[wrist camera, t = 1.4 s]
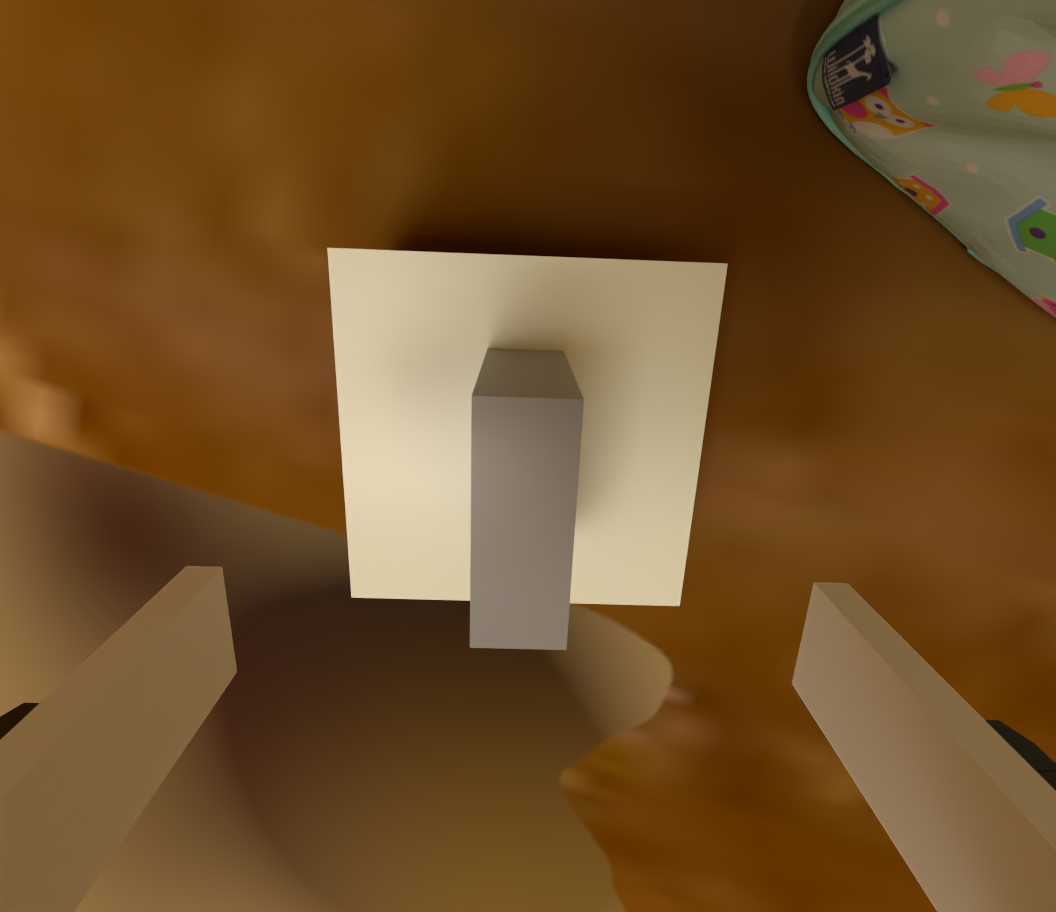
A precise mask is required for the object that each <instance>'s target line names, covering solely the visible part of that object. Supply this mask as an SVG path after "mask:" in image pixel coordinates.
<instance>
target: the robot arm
mask: <svg viewBox="0 0 1056 912" xmlns="http://www.w3.org/2000/svg"><path fill="white" fill-rule="evenodd" d="M236 672H237V669H236V662H235V655H234V648H233V641H232V634H231V627H230V620H229V613H228V606H227V598H226V592H225V585H224V577H223V570H222V567H203V566H186V567H185V568H184V569H183V570H182V571H181V572H180V573H179V574H178V575H176V576H175V577H174V578H173V579H172V580H171V581H170V582H169V583H168V584H167V585H166V586H165V587H164V588H163V589H162V590H160V591H159V592H158V593H157V594H156V595H155V596H154V597H153V598H152V599H151V600H150V601H149V602H148V603H147V604H145V605H144V606H143V607H142V608H141V609H140V610H139V611H138V612H137V613H136V614H135V615H134V616H133V617H132V618H130V620H128V621H127V622H126V623H125V624H124V625H123V626H122V627H121V628H120V629H119V630H118V631H116V632H115V633H114V634H113V635H112V636H111V637H110V638H109V639H108V640H107V641H106V642H105V643H104V644H103V645H101V647H99V648H98V649H97V650H96V651H95V652H94V653H93V654H92V655H91V656H90V657H89V658H88V659H87V660H85V661H84V662H83V663H82V664H81V665H80V666H79V667H78V668H77V669H76V670H75V671H74V672H73V673H71V675H69V676H68V677H67V678H66V679H65V680H64V681H63V682H62V683H61V684H60V685H59V686H58V687H56V689H54V690H53V691H52V692H51V693H50V694H49V695H48V696H47V697H46V698H45V699H44V700H43V701H41V702H40V703H23V704H21V705H20V706H18V707H16V708H14V709H13V710H11V711H9V712H8V713H6V714H4V715H2V716H1V717H0V912H74V911H75V910H76V908H77V907H78V905H79V904H80V902H81V901H82V899H83V898H84V896H85V895H86V893H87V892H88V891H89V889H90V888H91V886H92V885H93V883H94V882H95V880H96V879H97V877H98V876H99V874H100V873H101V871H102V870H103V868H104V867H105V865H106V864H107V863H108V861H109V860H110V858H111V857H112V855H113V854H114V852H115V851H116V849H117V848H118V846H119V845H120V843H121V842H122V840H123V839H124V838H125V836H126V835H127V833H128V832H129V830H130V829H131V827H132V826H133V824H134V823H135V821H136V820H137V818H138V817H139V815H140V814H141V812H142V811H143V809H144V808H145V806H146V805H147V804H148V802H149V801H150V799H151V798H152V796H153V795H154V793H155V792H156V790H157V789H158V787H159V786H160V784H161V783H162V781H163V780H164V779H165V777H166V775H167V774H168V773H169V771H170V770H171V768H172V767H173V765H174V763H175V762H176V761H177V759H178V758H179V756H180V755H181V753H182V752H183V751H184V749H185V748H186V746H187V745H188V743H189V742H190V740H191V739H192V737H193V736H194V734H195V733H196V731H197V730H198V728H199V727H200V725H201V724H202V722H203V721H204V720H205V718H206V716H207V715H208V714H209V712H210V711H211V709H212V708H213V706H214V705H215V703H216V702H217V700H218V699H219V697H220V696H221V694H222V693H223V692H224V690H225V689H226V687H227V686H228V684H229V683H230V681H231V680H232V678H233V677H234V675H235V674H236ZM792 685H793V686H794V688H795V689H796V691H797V692H798V694H799V696H800V697H801V699H802V700H803V702H804V703H805V705H806V707H807V708H808V710H809V711H810V713H811V714H812V716H813V718H814V719H815V721H816V722H817V724H818V725H819V727H820V728H821V730H822V732H823V733H824V735H825V736H826V738H827V739H828V741H829V743H830V744H831V746H832V747H833V749H834V750H835V752H836V754H837V755H838V757H839V758H840V760H841V761H842V763H843V765H844V766H845V768H846V769H847V771H848V772H849V774H850V776H851V777H852V779H853V780H854V782H855V783H856V785H857V787H858V788H859V790H860V791H861V793H862V794H863V796H864V798H865V799H866V801H867V802H868V804H869V805H870V807H871V809H872V810H873V812H874V813H875V815H876V816H877V818H878V819H879V821H880V823H881V824H882V826H883V827H884V829H885V830H886V832H887V834H888V835H889V837H890V838H891V840H892V841H893V843H894V845H895V846H896V848H897V849H898V851H899V852H900V854H901V856H902V857H903V859H904V860H905V862H906V863H907V865H908V867H909V868H910V870H911V871H912V873H913V874H914V876H915V878H916V879H917V881H918V882H919V884H920V885H921V887H922V889H923V890H924V892H925V893H926V895H927V896H928V898H929V899H930V901H931V903H932V904H933V906H934V907H935V909H936V910H937V912H1056V764H1055V763H1054V762H1053V761H1052V760H1051V759H1050V758H1049V757H1048V756H1047V755H1046V754H1045V753H1044V752H1043V751H1042V750H1041V749H1040V748H1039V747H1038V746H1036V745H1035V744H1034V743H1033V742H1031V741H1030V740H1028V739H1027V738H1025V737H1024V736H1022V735H1021V734H1019V733H1017V732H1016V731H1014V730H1013V729H1011V728H1010V727H1008V726H1007V725H1005V724H1004V723H1002V722H1000V721H999V720H984V719H983V718H982V717H981V716H980V715H979V714H978V713H977V712H976V711H975V710H974V709H973V708H972V707H971V706H970V705H969V704H968V703H967V702H966V701H965V700H964V699H963V698H962V697H961V696H960V695H959V694H958V693H957V692H956V691H955V690H954V689H953V688H952V687H951V686H950V685H949V684H948V683H947V682H946V681H945V680H944V679H943V678H942V677H941V676H940V675H939V674H938V673H937V672H936V671H935V670H934V669H933V668H932V667H931V666H930V665H929V664H928V663H927V662H926V661H925V660H924V659H923V658H922V657H921V656H920V655H919V654H918V653H917V652H916V651H915V650H914V649H913V648H912V647H911V646H910V645H909V644H908V643H907V642H906V641H905V640H904V639H903V638H902V637H901V636H900V635H899V634H898V633H897V632H896V631H895V630H894V629H893V628H892V627H891V626H890V625H889V624H888V623H887V622H886V621H885V620H884V619H883V618H882V617H881V616H880V615H879V614H878V613H877V612H876V611H875V610H874V609H873V608H872V607H871V606H870V605H869V604H868V603H867V602H866V601H865V600H864V599H863V598H862V597H861V596H860V595H859V594H858V593H857V592H856V591H855V590H854V589H853V588H852V587H851V586H850V585H849V584H848V583H822V582H814V584H813V589H812V593H811V598H810V602H809V607H808V612H807V616H806V621H805V626H804V630H803V635H802V639H801V644H800V649H799V653H798V658H797V663H796V667H795V672H794V677H793V681H792Z"/></svg>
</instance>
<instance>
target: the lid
mask: <svg viewBox="0 0 1056 912" xmlns="http://www.w3.org/2000/svg"><path fill="white" fill-rule="evenodd" d="M327 250H328V264H329V279H330V293H331V307H332V322H333V336H334V351H335V365H336V380H337V394H338V409H339V423H340V438H341V452H342V467H343V481H344V496H345V510H346V525H347V539H348V553H349V567H350V582H351V597H355V598H356V597H357V598H392V599H393V598H394V599H431V600H468V601H469V600H470V647H471V648H509V649H510V648H511V649H549V650H566V647H567V633H568V620H569V605H570V603H582V604H620V605H658V606H680V600H681V592H682V585H683V578H684V571H685V564H686V557H687V550H688V543H689V536H690V528H691V521H692V514H693V507H694V500H695V493H696V486H697V479H698V472H699V465H700V457H701V450H702V443H703V436H704V429H705V422H706V415H707V408H708V401H709V393H710V386H711V379H712V372H713V365H714V358H715V351H716V344H717V337H718V330H719V322H720V315H721V308H722V301H723V294H724V287H725V280H726V273H727V266H728V264H725V263H704V262H679V261H654V260H629V259H603V258H578V257H553V256H527V255H502V254H477V253H451V252H426V251H401V250H376V249H350V248H327Z"/></svg>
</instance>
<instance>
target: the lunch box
mask: <svg viewBox="0 0 1056 912" xmlns="http://www.w3.org/2000/svg"><path fill="white" fill-rule="evenodd" d="M807 90H808V95H809V98H810V100H811V103H812V105H813V108H814V109H815V111H816V112H817V114H818V115H819V117H820V118H821V120H822V121H823V122H824V124H825V125H826V126H827V127H828V128H829V130H830V131H831V132H832V133H833V134H834V135H835V136H836V137H837V138H838V139H839V140H840V141H841V142H843V143H844V144H845V145H846V146H847V147H848V148H849V149H850V150H851V151H852V152H853V153H855V154H856V155H857V156H858V157H860V158H861V159H862V160H864V161H865V162H866V163H868V164H869V165H870V166H871V167H873V168H874V169H875V170H877V171H878V172H879V173H880V174H882V175H883V176H884V177H885V178H887V179H888V180H889V181H890V182H891V183H892V184H893V185H894V186H895V187H897V188H898V189H900V190H901V191H902V192H904V193H905V194H907V195H908V196H909V197H910V198H911V199H912V200H914V201H915V202H916V203H917V204H918V205H920V206H921V207H922V208H923V209H924V210H925V211H927V212H928V213H929V214H930V215H931V216H932V217H934V218H935V219H936V220H937V221H938V222H939V223H941V224H942V225H943V226H944V227H945V228H946V229H947V230H949V231H950V232H951V233H952V234H953V235H954V236H955V237H956V238H957V239H958V240H959V241H960V242H961V243H963V244H964V245H965V246H966V247H967V252H968V253H970V254H971V255H972V256H973V257H975V258H976V259H977V260H978V261H980V262H981V263H983V264H985V265H986V266H988V267H989V268H991V269H992V270H994V271H995V272H997V273H998V274H1000V275H1001V276H1002V277H1003V278H1005V279H1006V280H1007V281H1008V282H1010V283H1011V284H1012V285H1013V286H1015V287H1016V288H1017V289H1018V290H1020V291H1021V292H1022V293H1023V294H1025V295H1026V296H1027V297H1028V298H1030V299H1031V300H1032V301H1034V302H1035V303H1036V304H1037V305H1039V306H1040V307H1041V308H1042V309H1044V310H1045V311H1046V312H1048V313H1049V314H1050V315H1052V316H1053V317H1055V318H1056V0H844V1H843V3H842V5H841V7H840V9H839V11H838V13H837V15H836V17H835V19H834V20H833V21H832V22H831V23H830V25H829V26H828V28H827V29H826V30H825V32H824V33H823V35H822V36H821V38H820V39H819V41H818V43H817V45H816V47H815V49H814V51H813V54H812V57H811V61H810V65H809V67H808V74H807Z"/></svg>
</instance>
